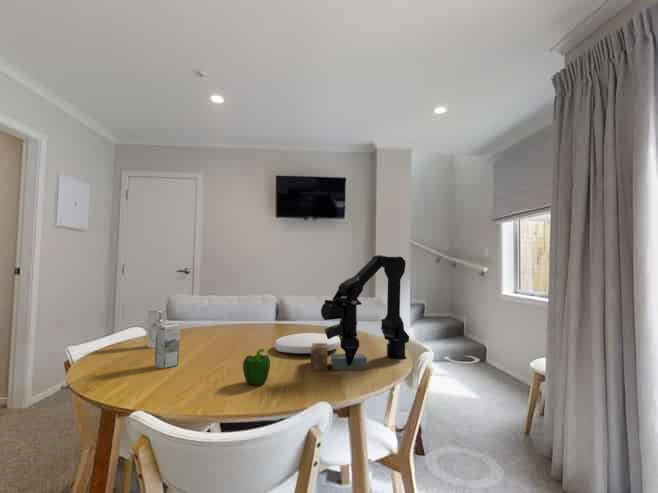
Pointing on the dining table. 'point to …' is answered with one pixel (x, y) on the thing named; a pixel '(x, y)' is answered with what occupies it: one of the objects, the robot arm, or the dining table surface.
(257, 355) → the bell pepper
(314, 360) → the walnut shelf
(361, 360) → the slate slab
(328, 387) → the dining table surface
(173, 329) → the syrup box
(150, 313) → the beer glass
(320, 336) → the plate
